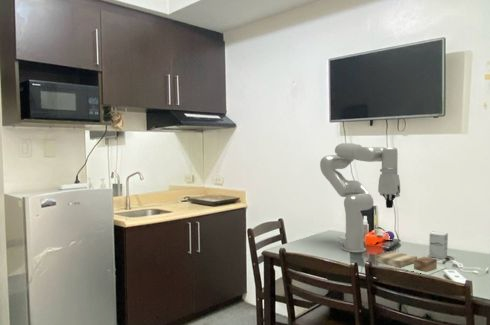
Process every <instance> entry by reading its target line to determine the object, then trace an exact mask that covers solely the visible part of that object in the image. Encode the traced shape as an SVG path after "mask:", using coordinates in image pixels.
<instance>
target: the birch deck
mask: <svg viewBox="0 0 490 325" xmlns="http://www.w3.org/2000/svg"><path fill="white" fill-rule="evenodd" d="M414 259H418V256H416V255H412V254H411V255H410V254H407V253H402V252H397V251H393V250H391V251H387V252H384V253H380V254H377V255H375V262H377V263H381V264H385V265H389V266H393V267H395V268H399V269H400V268H402V267H405V266H408V265H411V264H414Z"/></svg>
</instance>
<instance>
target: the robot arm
mask: <svg viewBox="0 0 490 325" xmlns="http://www.w3.org/2000/svg"><path fill="white" fill-rule="evenodd" d="M334 153H335V155H334V154H332V155H330V154H329V155H326V156H323V157H322V158H321V159H320V161H319V162H320V163H319V165H320V166H319V167H320V171H321V174H322V175H323V176H324V177H325V179H327V181H328V182H329V183H330V185H331V186H332V188H333V189H334V190H335V191H336V193H337V194H338V195H339V196H340V197H341V198H342V197H343V198H344V201H343V207H344V212H345V240H344V239H342V240H341V242H340V244H341V245H344V246H343V247H342V250H343V251H345V252H347V253H348V252H349V253H365V252H367V248H366V247H365V246H364V218H363V214H362V213H361V211H368V210H371V209H372V208H373V207H374V198H373V197H372V195H371V194H370V192H369V191H368V189H366V187H365V186H364V185H363V184H362V183H361V182H360V181H358V180H354V179H353V180H348V179H346V177H344V175H343V174H342V173H341V172H340V171H338V170H343V169H346V168H347V167H348V166H349V165H350V164H351V163H352V162H353V161H354V160H355V161H360V162H367V163H372V162H374V163H375V162H381V168H380V170H379V172H381V173H380V174H379V178H378V188H377V190H378V192H377V193H379V196H382V197H383V198H384V200H385V207H386V209H391V208H393V207H394V201H395V198H399V197H401V195H400V193H401V181H400V176H399V174H398V155H399V154H398V148H396V147H389V146H388V147H384V146H382V147H380V146H379V147H377V146H376V147H375V146H369V147H368V146H362V145H361V144H356V143H353V142H352V143H349V142H348V143H346V142H345V143H343V142H342V143H339V144H338V145H336V146H335V148H334Z"/></svg>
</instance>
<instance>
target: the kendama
mask: <svg viewBox="0 0 490 325" xmlns="http://www.w3.org/2000/svg"><path fill="white" fill-rule="evenodd" d="M385 233H388V234H389V236H390V239H393V240H394V239H395V233H394V232H392V231H391V230H390V231H389V230H388V231H385Z"/></svg>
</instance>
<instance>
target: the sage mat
mask: <svg viewBox="0 0 490 325" xmlns="http://www.w3.org/2000/svg"><path fill="white" fill-rule="evenodd" d="M399 269H400V270H402V269H403V271H406V270H408V271H407V272H410V271H414V272H418V273H422V274H427V275H428V276H431V275H432V274H435V273H438V272H441V271H444V270H446V269H447V267H446V266H442V265H437V269H434V270H431V271H428V272H424V271H420V270H416V269H414V264H411V265H408V266H405V267H402V268H400V267H399ZM443 269H444V270H443ZM414 272H413V273H414ZM418 273H417V274H418ZM422 274H421V275H422Z"/></svg>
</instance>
